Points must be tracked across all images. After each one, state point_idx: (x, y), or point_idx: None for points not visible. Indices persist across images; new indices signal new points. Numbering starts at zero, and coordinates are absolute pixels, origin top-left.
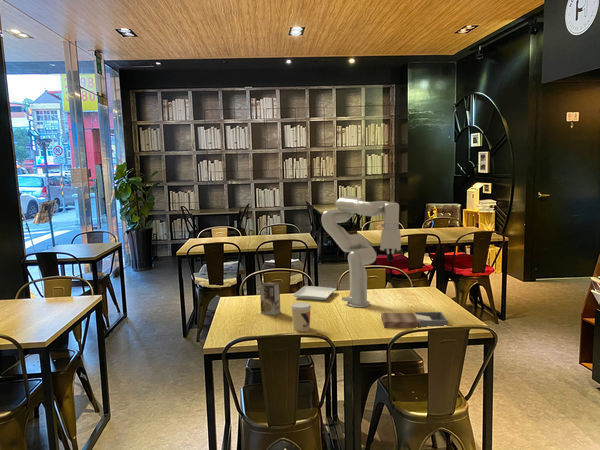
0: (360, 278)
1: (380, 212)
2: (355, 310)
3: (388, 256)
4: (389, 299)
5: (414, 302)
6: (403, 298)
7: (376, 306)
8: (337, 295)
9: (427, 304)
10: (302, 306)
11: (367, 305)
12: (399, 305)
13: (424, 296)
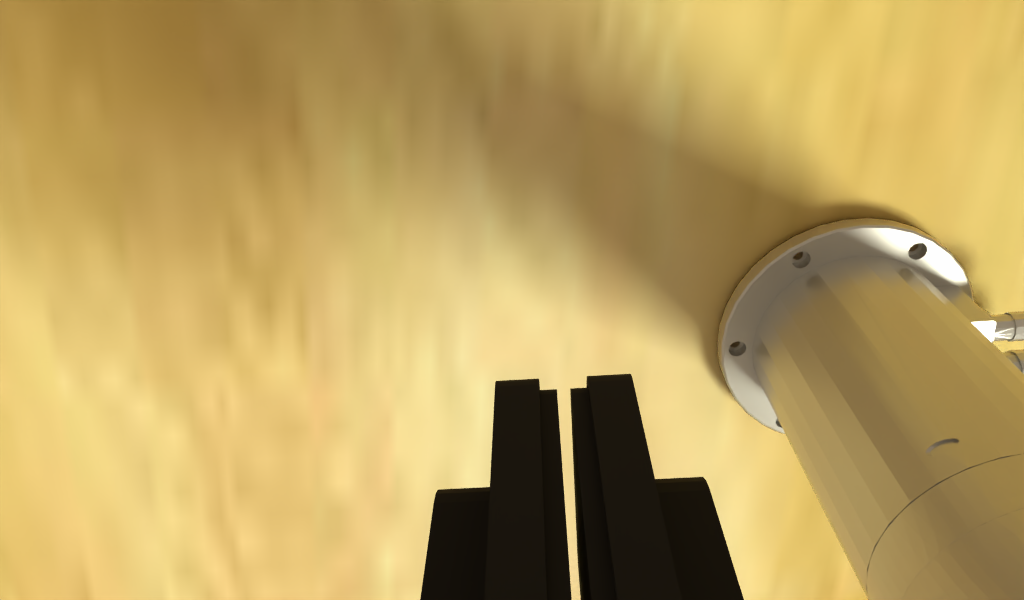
0: (1015, 464)
1: None
2: (918, 115)
3: (679, 583)
4: None
5: (242, 426)
6: (356, 531)
7: (650, 276)
8: None
9: (102, 374)
10: None
11: (755, 268)
12: (396, 324)
13: (159, 593)
